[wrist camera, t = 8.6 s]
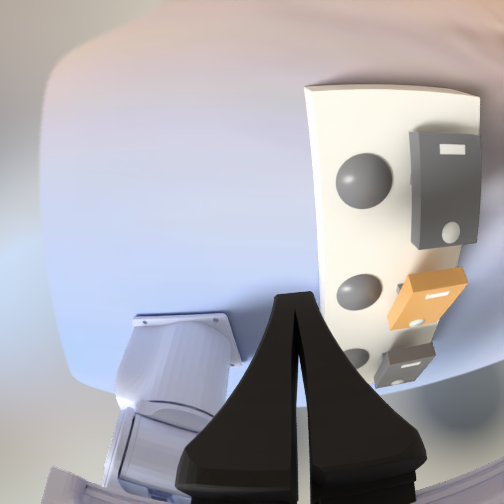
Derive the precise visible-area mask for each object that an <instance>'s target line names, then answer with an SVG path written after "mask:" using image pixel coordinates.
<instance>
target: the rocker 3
mask: <svg viewBox="0 0 504 504" xmlns="http://www.w3.org/2000/svg"><path fill="white" fill-rule="evenodd" d="M435 356H436V354H435V350H434V347H433V343H432V342H431V343H426V344H422V345H417V346H412V347H407V348H401V349H396V350H390V351H387V353H386V355H385V357H384V358H383V360H382V362H381V364H380V366H379V368H378V370H377V372H376V373H375V375H374V383H375V389H376V388H381V387H387V386H392V385H397V384H402V383H407V382H411V381H415V380H416V378H417V377H418V376H419V375H420V374H421V373H422V372H423V370H424V369H425V368H426V367H427V366H428V364H429V363H430V362H431V361H432V360H433V358H434V357H435Z"/></svg>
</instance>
